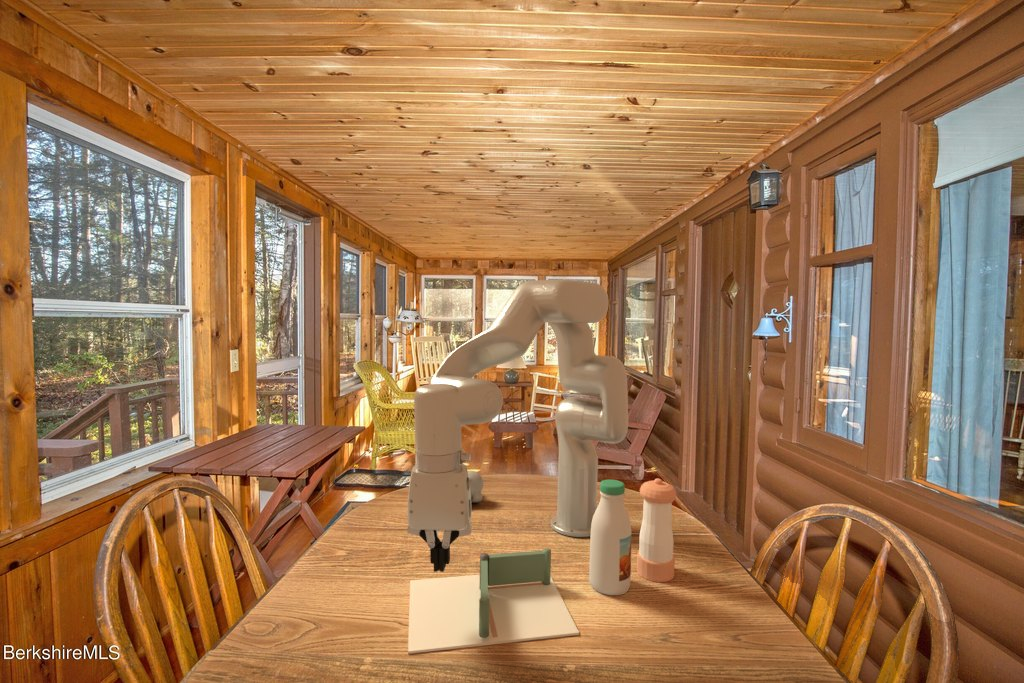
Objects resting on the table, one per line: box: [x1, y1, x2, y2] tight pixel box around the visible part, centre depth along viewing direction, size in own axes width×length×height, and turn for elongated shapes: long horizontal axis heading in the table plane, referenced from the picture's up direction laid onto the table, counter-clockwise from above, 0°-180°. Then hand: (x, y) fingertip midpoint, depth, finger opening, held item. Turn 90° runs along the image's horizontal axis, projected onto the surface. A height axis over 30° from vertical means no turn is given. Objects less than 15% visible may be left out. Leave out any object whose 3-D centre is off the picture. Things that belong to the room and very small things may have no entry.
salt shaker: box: [636, 477, 677, 583], centre depth 98 cm, size 7×7×19 cm
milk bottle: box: [588, 479, 632, 596], centre depth 93 cm, size 8×8×20 cm
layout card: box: [407, 574, 580, 655], centre depth 86 cm, size 27×20×1 cm
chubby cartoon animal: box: [468, 470, 484, 504], centre depth 135 cm, size 7×12×8 cm, turn 8°
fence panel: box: [479, 561, 490, 638], centre depth 83 cm, size 13×2×6 cm, turn 3°
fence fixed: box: [479, 547, 552, 590], centre depth 92 cm, size 14×2×7 cm, turn 101°
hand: (440, 567), depth 81 cm, fingers closed
